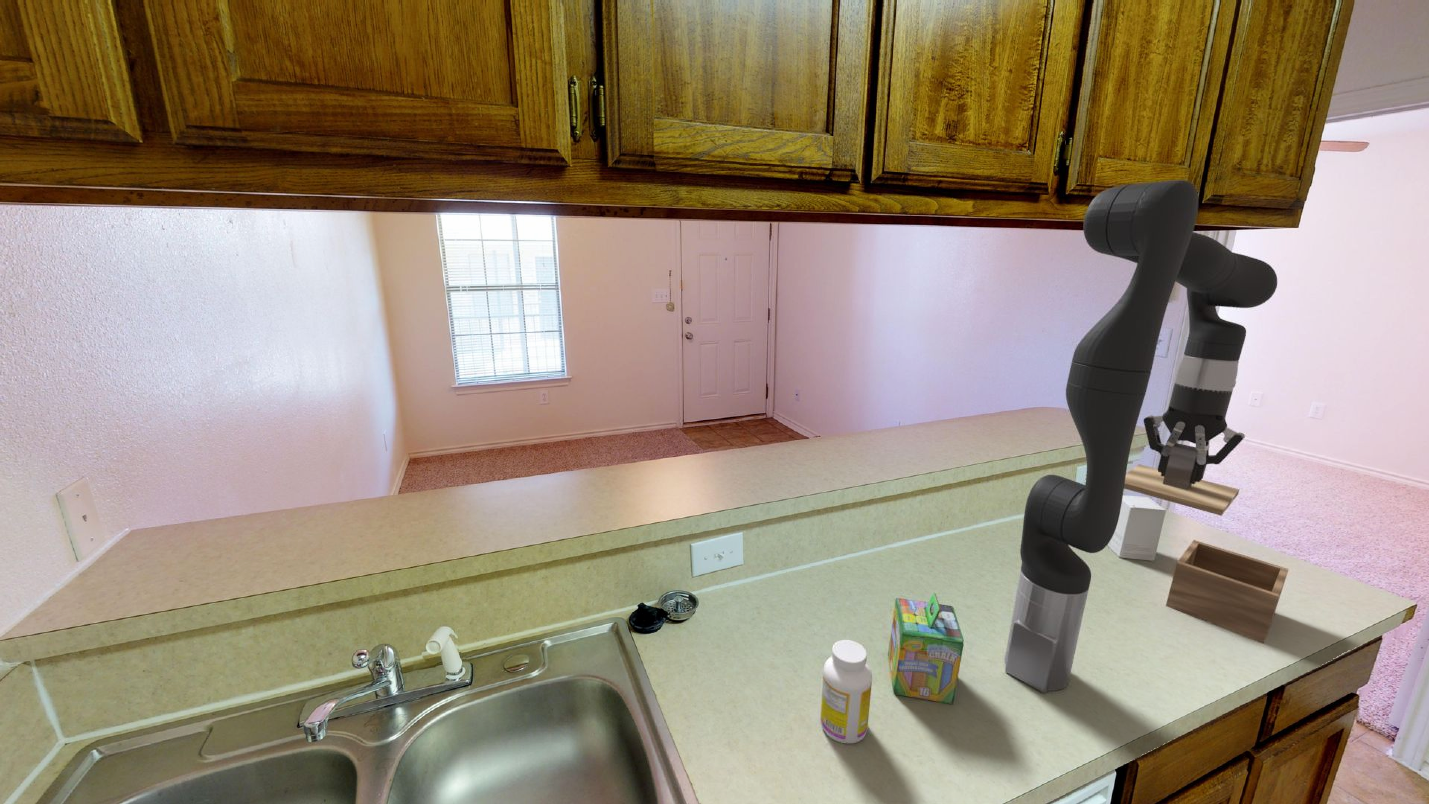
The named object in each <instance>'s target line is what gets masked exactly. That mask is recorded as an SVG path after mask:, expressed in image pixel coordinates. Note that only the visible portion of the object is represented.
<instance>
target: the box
mask: <svg viewBox="0 0 1429 804" xmlns="http://www.w3.org/2000/svg"><path fill="white" fill-rule="evenodd" d="M1288 572H1289V568H1287V567H1283V566H1280V565H1277V564H1274V563H1270V562H1267V561H1264V560H1260V559H1258V558H1254V557H1252V556H1249V555H1244V554H1240V553H1238V552H1235V551H1231V550H1227V549H1225V548H1221V547H1219V546H1215V545H1212V544H1208V543H1205V542H1202V541H1199V540H1196V539H1193V540H1192V542H1190V544H1189V546H1188V547H1187V549H1186V550H1184V552H1183V554H1182V555H1181V556H1180V558H1179V559H1178V560H1177V562H1176V564H1175V569H1174V572H1173V575H1172V576H1173V577H1172V580H1171V583H1170V588H1169V593H1168V595H1167V600H1166V602H1165V606H1166V607H1169V608H1172V609H1174V610H1177V611H1180V612H1181V613H1184V614H1187V615H1189V616H1192V617H1195V618H1198V619H1199V620H1202V621H1205V622H1208V623H1209V624H1212V625H1216V626H1218V627H1220V628H1222V629H1226V630H1228V631H1231V632H1233V633H1235V634H1238V635H1241V636H1243V637H1247V638H1248V639H1251V640H1254V641H1256V642H1260V643H1262V644H1265V641H1266V638H1267V636H1268V634H1269V633H1268V632H1269V630H1270V628H1271V624H1272V622H1273V619H1274V616H1275V613H1276V610H1277V608H1278V604H1279V601H1280V597H1281V594H1282V591H1283V588H1284V586H1285V582H1286V579H1287V575H1288Z"/></svg>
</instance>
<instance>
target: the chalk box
mask: <svg viewBox="0 0 1429 804" xmlns="http://www.w3.org/2000/svg"><path fill="white" fill-rule="evenodd" d="M894 602H895V603H894V609H893V616H892V624H891V631H890V637H889V643H888V651H887V659H888V665H889V671H890V672H889V673H890V681H891V685H892V692H893V694H894V695H898V696H903V697H909V698H915V699H922V700H926V701H932V702H938V703H944V704H949V705H954V703H955V697H956V690H957V683H958V679H959V678H958V677H959V673H960V668H961V667H960V666H961V661H962V656H963V650H964V646H965V645H964V642H965V640H964V636H963V633H962V631H961V630H962V629H961V627H960V624H959V621H958V618H957V615H956V611H955V608H954V606H952V605H947V604H942V603H939V599H938V598H937V594H936V593H935V592H933V593H932V595H931V596H930V599H929V601H928V602H927V601H919V600H913V599H908V598H907V599H906V598H899V597H896V598H895V601H894Z"/></svg>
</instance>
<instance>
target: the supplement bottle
mask: <svg viewBox="0 0 1429 804" xmlns="http://www.w3.org/2000/svg"><path fill="white" fill-rule="evenodd" d="M867 656H868V653H867V650H866V648H864V646H863V645H862V644H860V643H858V642H856V641H854V640H850V639H841V640H838V641H835V643H833V645H832V649H831V656H830V657H829V658H828V659H826V661H825V663H824V665H823V673H822V689H821V703H820V705H821V706H820V724H821V728H822V729H823V730H824V732H825V733H826V735H827V736H828V737H830V738H831V739H833V740H834V741H836V742H838V743H841V744H855V743H859V742H860V741H862V740H863V739H864V738H865V736H866V735H867V731H868V726H869V719H870V718H869V716H870V707H871V706H870V705H871V696H872V695H871V693H872V685H873V674H872V670H871V668H870V666H869V664H867V658H868V657H867Z"/></svg>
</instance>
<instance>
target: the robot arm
mask: <svg viewBox="0 0 1429 804" xmlns="http://www.w3.org/2000/svg"><path fill="white" fill-rule="evenodd" d="M1198 212H1199V195H1198V191H1197V188H1196V186H1195V184H1193V183H1192V182H1191V181H1189V180H1183V179H1177V180H1175V179H1174V180H1165V181H1155V182H1154V181H1153V182H1143V183H1142V182H1141V183H1132V184H1124V185H1118V186H1114V187H1109V188H1107V189H1105V190H1103V191H1100V192H1099V193H1098V194H1097V195H1096V196H1095V197H1094V198H1093V199H1092V200H1091V202H1090V203H1089V205H1088V207H1087V209H1086V212H1085V215H1084V218H1083V235H1084V238H1085V241H1086V243H1087V244H1088V245H1089V247H1090V248H1091V249H1092V250H1093V251H1094V252H1097V253H1100V254H1103V255H1108V256H1111V257H1115V258H1119V259H1124V260H1127V261H1129V262H1132V263H1135V264H1136V268H1135V269H1134V272H1133V275H1132V277H1131V279H1130V281H1129V284H1128V286H1127V288H1126V289H1125V291H1124V293H1123V294H1122V296H1121V297H1120V298H1119V300H1118V301H1117V302H1116V303H1115V304H1114V306H1112V307H1111V309H1110V310H1109V311H1108V312H1107V313H1105V315H1103V316H1102V318H1101V319H1099V321H1097V322H1096V323H1095V325H1093V327H1092V328H1091V329H1090V330H1089V331H1088V332H1087V333H1086V334H1085V335H1084V337H1082V339H1081V340H1080V341H1079V343H1078V344H1077V345H1076V348H1075V349H1074V352H1073V355H1072V357H1071V359H1072V360H1071V363H1070V369H1069V372H1068V377H1067V382H1066V387H1065V398H1066V403H1067V407H1068V410H1069V412H1070V415H1071V418H1072V420H1073V423H1074V425H1075V427H1076V430H1077V433H1078V435H1079V437H1080V440H1081V443H1082V446H1083V448H1084V452H1085V457H1086V459H1085V460H1086V474H1085V475H1086V476H1085V484H1084V483H1080V482H1077V481H1075V480H1072V479H1069V478H1067V477H1063V476H1060V475H1056V474H1046V475H1044V476H1042V477H1040V478H1039V479H1038V480H1036V482H1035V483H1034V485H1032V488H1031V489H1030V491H1029V494H1028V496H1027V498H1026V504H1025V508H1024V514H1023V524H1022V531H1021V532H1022V534H1021V542H1020V549H1019V551H1020V552H1019V553H1020V559H1021V560H1020V561H1021V567H1020V573H1019V579H1018V583H1017V589H1016V594H1015V599H1014V600H1015V601H1014V604H1013V605H1014V606H1013V610H1012V616H1011V621H1010V622H1011V623H1010V626H1009V627H1010V628H1009V633H1008V639H1007V644H1006V651H1005V655H1004V663H1005V668H1004V672H1006V673H1008V674H1009V675H1010V676H1012V677H1014V678H1016V679H1018V680H1020V681H1022V682H1024V683H1026V684H1027V685H1029V686H1030V687H1032V688H1034V689H1036V690H1038V691H1039V692H1041V693H1044V694H1046V693H1047V692H1048V691H1058V690H1062V689H1064V688H1066V687H1067V686H1068V685H1069V682H1070V678H1071V673H1072V669H1073V664H1074V659H1075V653H1076V650H1077V645H1078V641H1079V636H1080V631H1081V626H1082V622H1083V617H1084V613H1085V607H1086V603H1087V599H1088V594H1089V589H1090V586H1091V580H1092V572H1091V568H1090V567H1089V565H1088V564H1087V563H1086V561H1084V559H1082V558H1081V557H1080V556H1079V555H1078V554H1077V553H1076V552H1075V551H1074V550H1073V549H1072V548H1074V549H1077V550H1079V551H1082V552H1085V553H1088V554H1096V553H1099V552H1101V551H1103V550H1104V549H1105V548H1106V547H1108V543H1109V542H1110V540H1111V539H1112V537H1113V535H1114V532H1115V530H1116V527H1117V523H1118V519H1119V515H1120V510H1121V504H1122V498H1123V495H1124V491H1125V489H1124V484H1125V477H1126V473H1127V469H1128V463H1129V459H1130V458H1129V457H1130V453H1131V449H1132V444H1133V439H1134V436H1135V432H1136V427H1137V424H1138V420H1139V416H1140V414H1141V410H1142V407H1143V403H1144V399H1145V396H1146V393H1147V389H1148V385H1149V381H1150V379H1151V374H1152V369H1153V364H1154V360H1155V355H1156V350H1157V345H1158V342H1159V337H1160V334H1161V330H1162V326H1163V322H1164V318H1165V315H1166V312H1167V307H1168V304H1169V301H1170V298H1171V295H1172V292H1173V289H1174V286H1175V283H1177V284H1179V285H1181V286H1183V287H1184V288H1185V289H1186V299H1187V307H1188V321H1189V322H1188V323H1189V324H1188V325H1189V326H1188V327H1189V329H1188V330H1189V331H1188V337H1187V340H1186V344H1185V348H1184V352H1183V355H1182V357H1181V358H1182V359H1181V361H1180V363H1179V366H1178V369H1177V373H1176V376H1175V380H1174V384H1173V388H1172V392H1171V396H1170V399H1169V404H1168V407H1167V410H1166V411H1165V412H1164V413H1163V414H1162V415H1156V416H1154V415H1148V416H1147V417H1145V418H1144V419H1143V424H1144V429H1145V433H1146V437H1147V440H1148V445H1149V449H1151V450H1152V451H1155V452H1157V453H1158V454H1159V455H1160V459H1159V462H1158V467H1157V469H1158V472H1160V473H1161V476H1163V477H1164V476H1165V472H1166V469H1167V465H1168V461H1169V457H1170V453H1171V449H1172V446H1175V445H1176V444H1178V443H1179V444H1180V441H1181V442H1183V441H1186V442H1190V443H1192V444H1195V447H1196V451H1197V452H1198V453H1197V461H1196V463H1195V464H1194V468H1193V472H1192V475H1191V479H1190V484H1195V483H1196V482H1200V481H1201V480H1203V478H1204V476H1205V472H1206V468H1207V465H1220V464H1221V463H1222V461H1224V460H1225V459H1226V458H1227V457H1228V456H1229V454H1231V453H1232V451H1233V450H1234V449H1236V447H1237V446H1238V445H1240V443H1241V442H1243V440H1244V439H1245V438H1246V435H1245V434H1244V433H1242V432H1237V431H1235V430H1234V429H1232V428H1229V427H1228V423H1227V421H1226V416H1227V412H1228V409H1229V407H1230V401H1231V398H1232V395H1233V391H1234V388H1235V387H1236V384H1237V377H1238V373H1239V372H1238V369H1239V360H1240V358H1241V354H1242V351H1243V347H1244V344H1245V342H1246V337H1247V336H1246V335H1247V329H1246V328H1245V326H1244V325H1242V324H1239V323H1237V322H1232V321H1229V320H1226V319H1223V318H1222V317H1220V316H1219V314H1218V312H1217V308H1216V307H1226V308H1236V309H1237V308H1239V309H1252V308H1255V307H1258V306H1261V305H1263V304H1265V303H1266V302H1267V301H1269V300H1270V299H1271V298H1272V297H1273V296H1274V294H1275V292H1276V290H1277V288H1278V277H1277V273H1276V271H1275V270H1274V268H1273V267H1272V266H1271V264H1269V263H1268V262H1266V261H1263V260H1261V259H1259V258H1255V257H1252V256H1248V255H1244V254H1241V253H1236V252H1233V251H1231V250H1230V249H1229V248H1227V247H1226V246H1225V245H1223V243H1221V242H1219V240H1216V239H1214V238H1212V237H1210V236H1207V235H1205V234H1201V233H1198V232H1195V231H1194V230H1195V226H1196V222H1197V218H1198ZM1162 422H1163V423H1164V425H1165V427H1166V428H1167V430H1168V432H1169V436H1168V438H1167V440H1166V443H1165V444H1164V443H1163V444H1162V440H1161V436H1160V431H1159V428H1161V426H1162ZM1221 434H1223V435H1224V437H1223V440H1222V441H1224V443H1225V444H1224V445H1223V446H1222V447H1221V449H1219V451H1217V453H1216V454H1213V455H1210V452H1209V451H1210V441H1211V440H1212V439H1214V438H1216V437H1217V436H1220V435H1221ZM1071 547H1072V548H1071Z"/></svg>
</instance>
